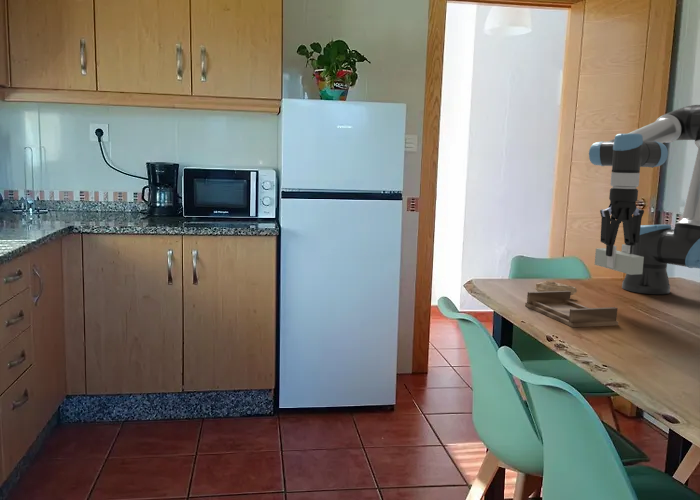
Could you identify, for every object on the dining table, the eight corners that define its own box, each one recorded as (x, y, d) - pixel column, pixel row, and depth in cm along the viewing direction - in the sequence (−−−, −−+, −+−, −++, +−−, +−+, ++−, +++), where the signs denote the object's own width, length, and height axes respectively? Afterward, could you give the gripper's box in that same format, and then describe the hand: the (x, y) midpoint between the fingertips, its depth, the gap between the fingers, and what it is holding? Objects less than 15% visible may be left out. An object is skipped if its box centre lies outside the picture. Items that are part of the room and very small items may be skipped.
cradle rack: (525, 305, 186) (526, 291, 185) (565, 304, 190) (566, 290, 189) (573, 327, 163) (574, 310, 162) (618, 325, 167) (619, 308, 166)
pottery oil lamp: (578, 300, 194) (571, 282, 191) (540, 309, 199) (533, 290, 196) (577, 286, 201) (570, 268, 198) (540, 294, 206) (533, 277, 204)
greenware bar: (605, 264, 190) (607, 248, 189) (642, 274, 175) (643, 256, 174) (594, 264, 189) (595, 248, 188) (630, 274, 174) (631, 257, 173)
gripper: (639, 186, 184) (633, 263, 188) (590, 186, 180) (584, 265, 183) (658, 188, 177) (650, 268, 180) (607, 188, 172) (600, 270, 176)
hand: (617, 266), depth 182 cm, fingers closed on greenware bar, 4 cm apart
